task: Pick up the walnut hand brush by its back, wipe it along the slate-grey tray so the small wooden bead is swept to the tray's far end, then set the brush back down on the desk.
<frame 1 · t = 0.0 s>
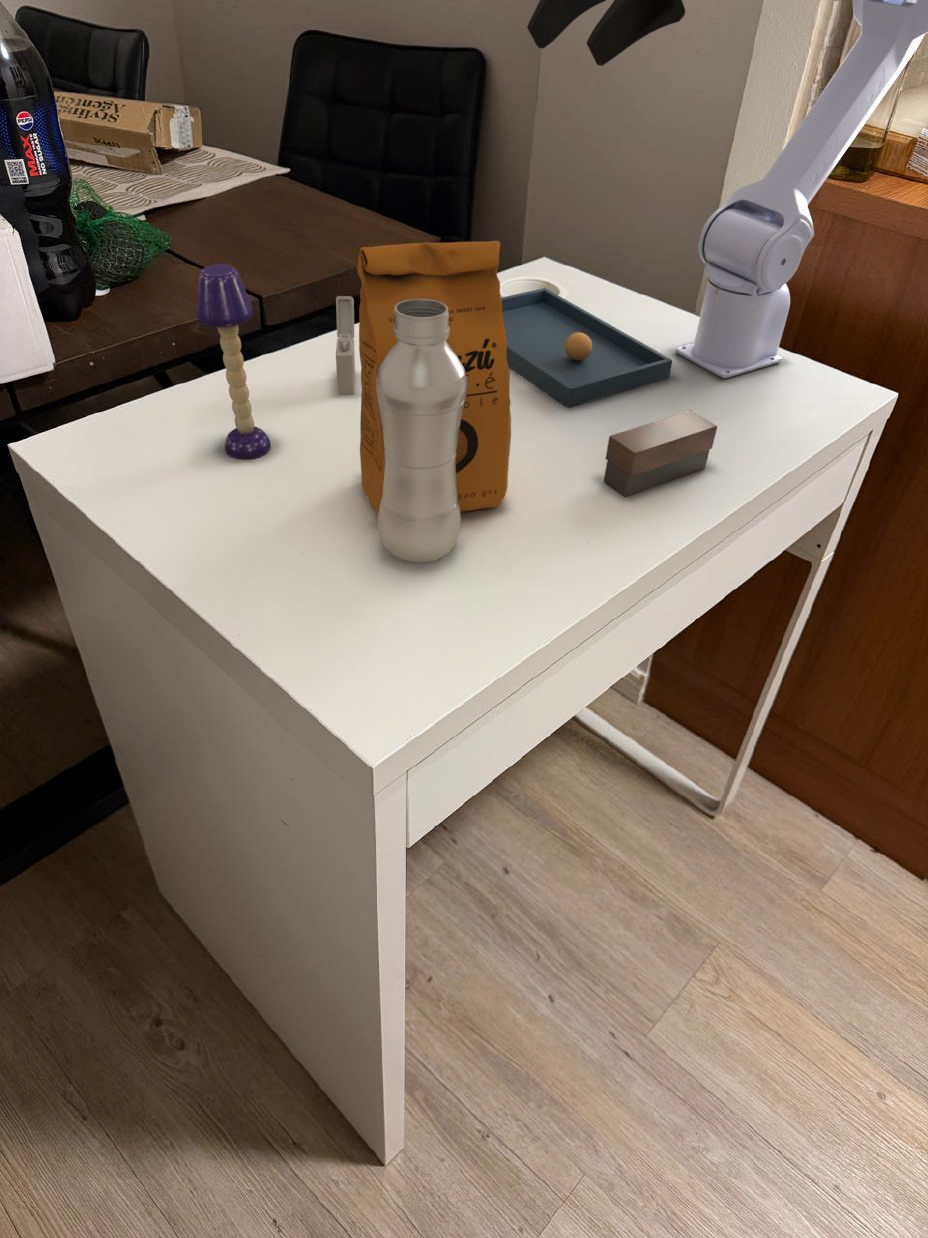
hand: (563, 45, 72), 32 cm above the table, tool tilted 50°, fingers open, 7 cm apart
coffee package: (432, 497, 81), on the table, touching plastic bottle
toy lamp: (244, 449, 87), on the table
brush: (655, 474, 86), on the table
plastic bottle: (419, 551, 75), on the table, touching coffee package
tray: (554, 350, 105), on the table
wooden bead: (578, 346, 101), point 2 cm above the table, touching tray
lighter: (347, 380, 98), on the table
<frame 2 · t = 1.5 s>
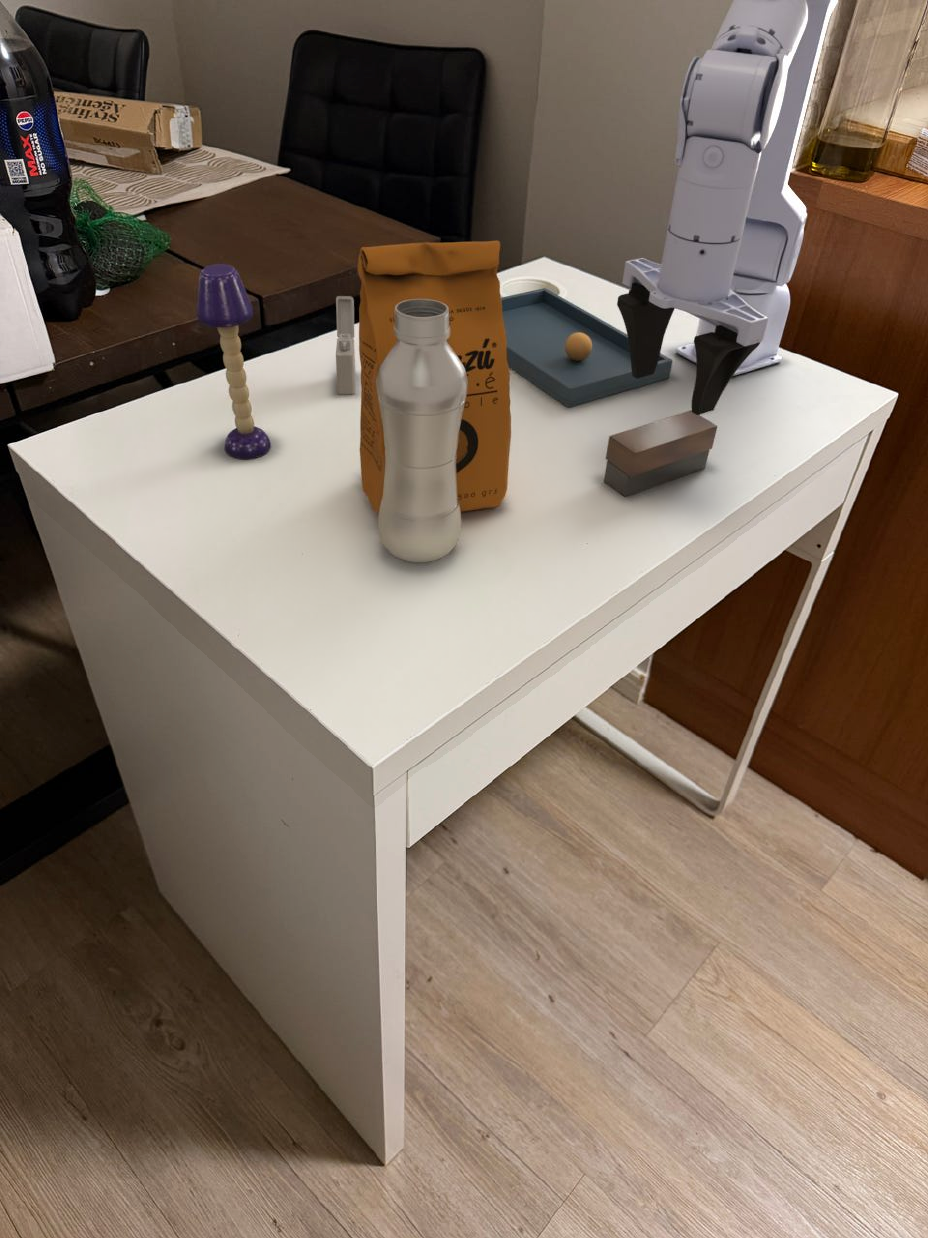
hand: (671, 392, 80), 8 cm above the table, tool pointing down, fingers open, 7 cm apart
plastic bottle: (419, 551, 75), on the table, touching coffee package
everything else where it was.
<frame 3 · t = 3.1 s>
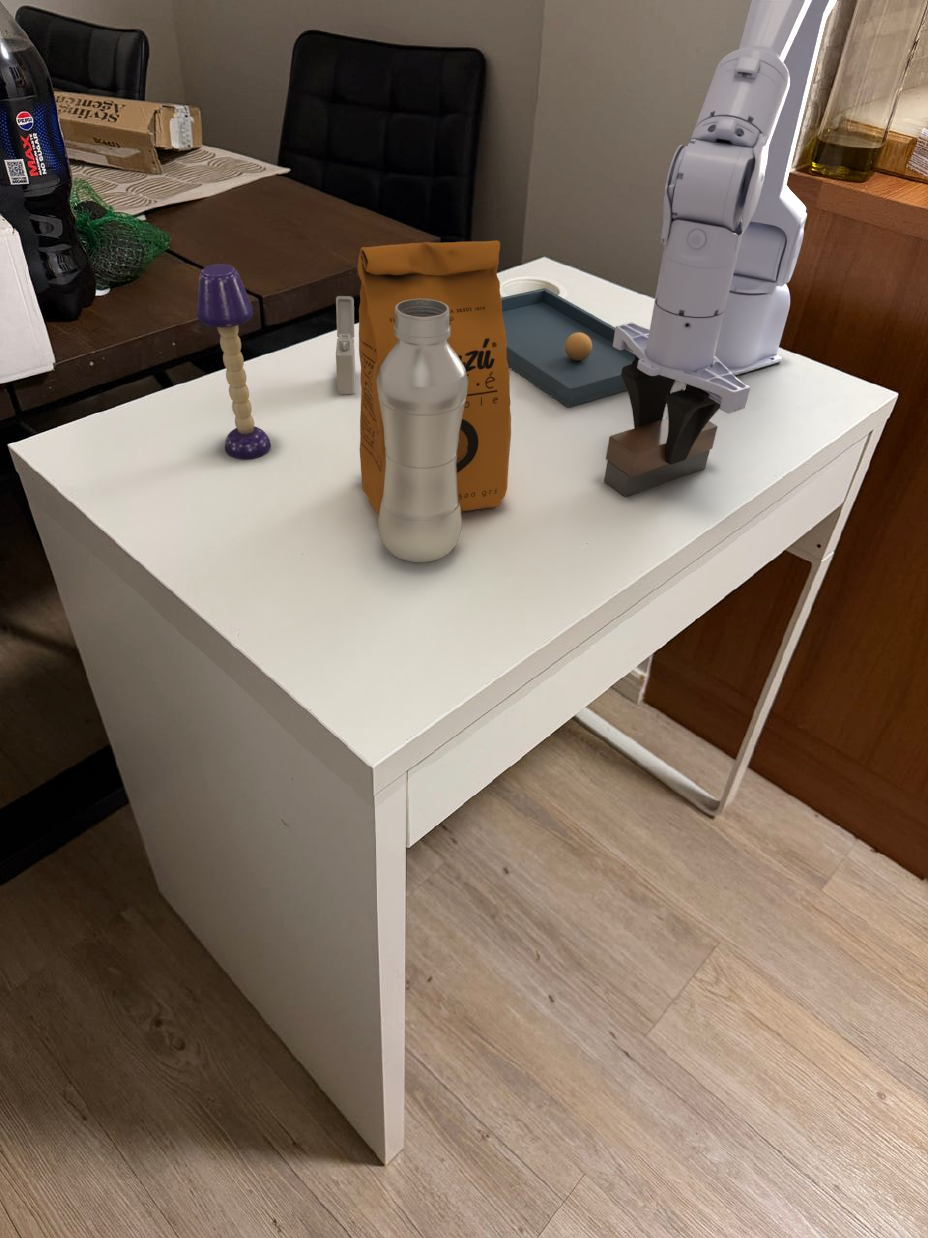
hand: (660, 450, 84), 3 cm above the table, tool pointing down, fingers closed on brush, 3 cm apart
brush: (655, 474, 86), on the table, touching gripper
everything else where it was.
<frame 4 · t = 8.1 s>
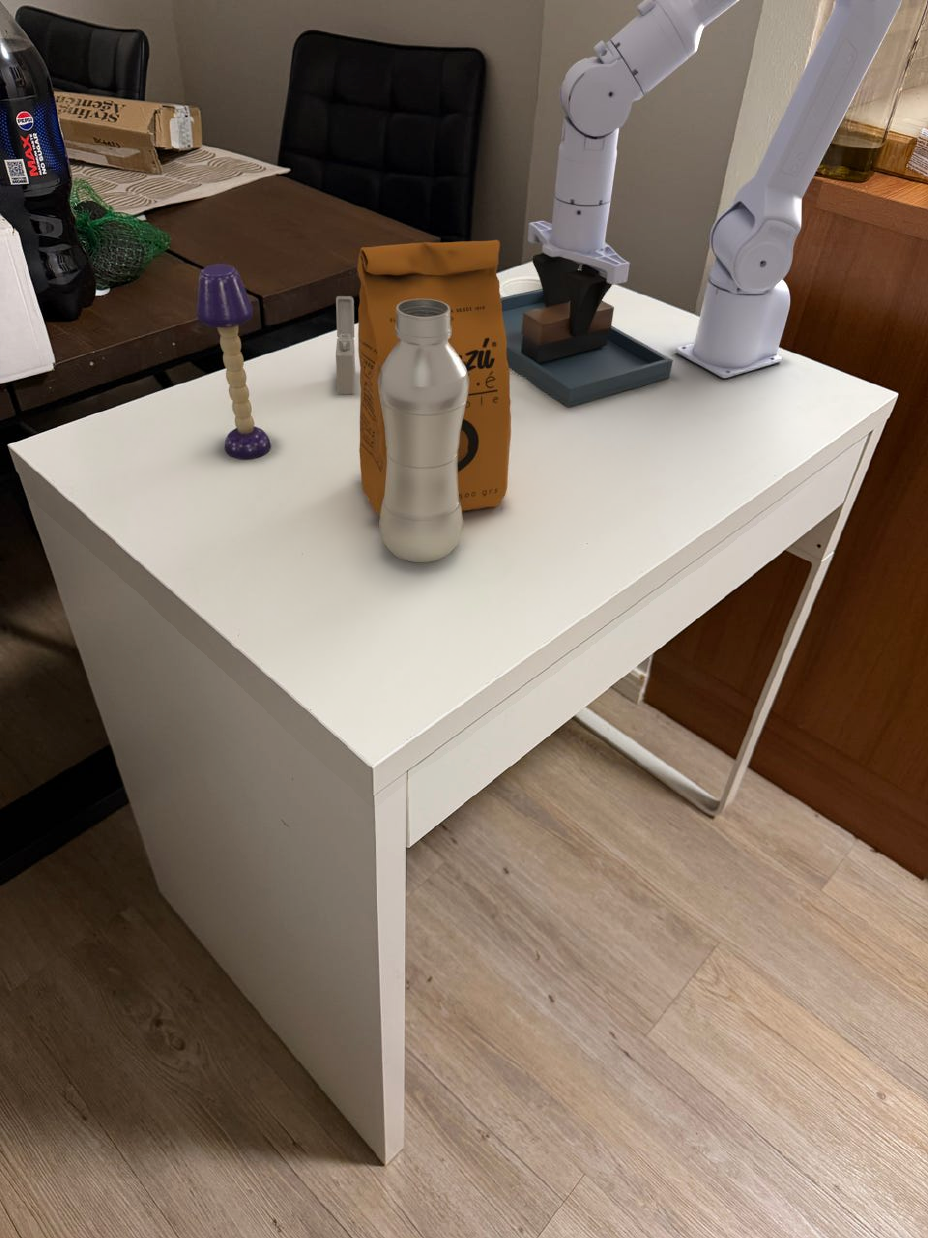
hand: (567, 326, 102), 4 cm above the table, tool pointing down, fingers closed on brush, 3 cm apart
brush: (564, 349, 103), point 1 cm above the table, touching gripper
wooden bead: (537, 322, 106), point 2 cm above the table, tilted 79°, touching tray
everything else where it was.
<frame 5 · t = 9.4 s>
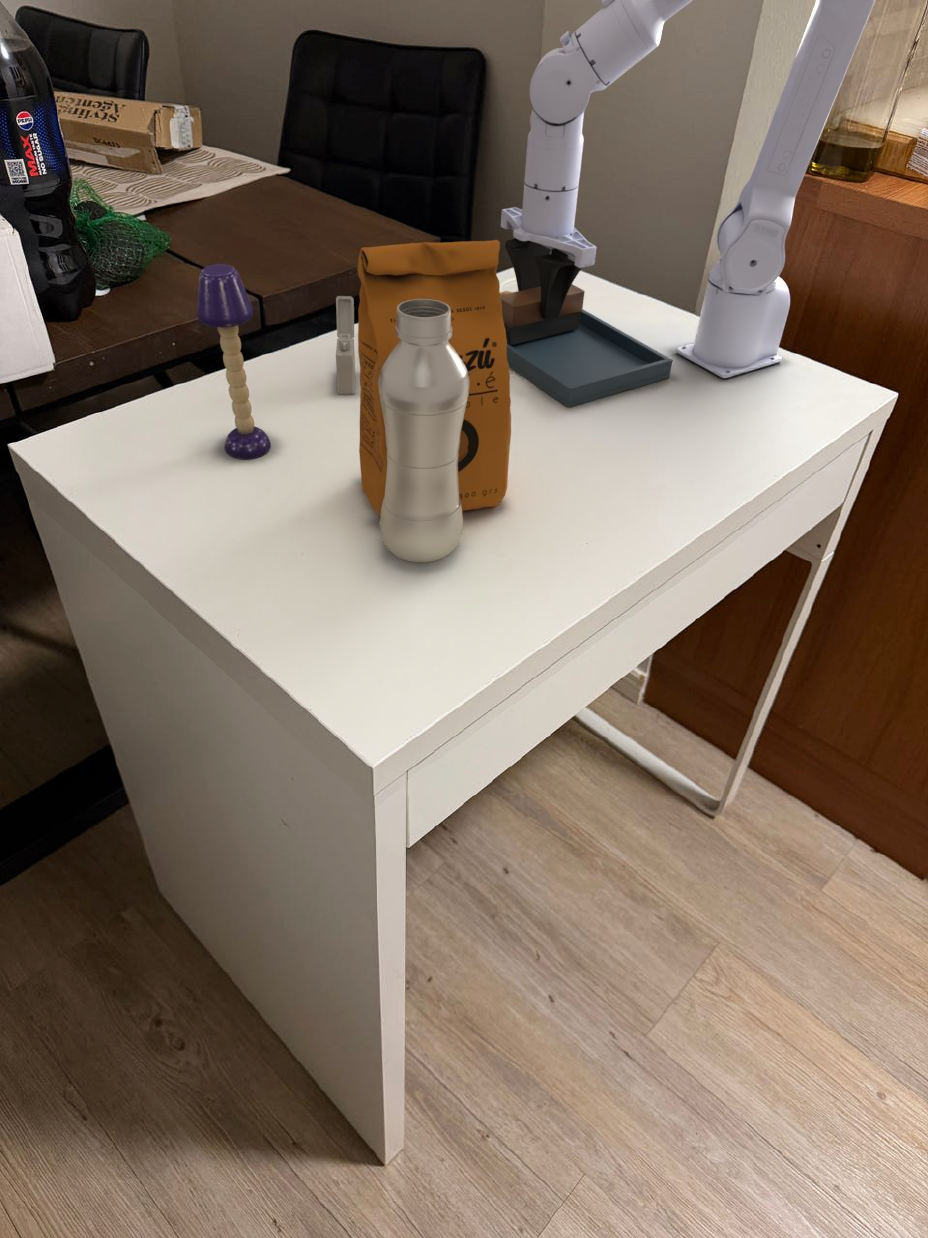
hand: (539, 310, 105), 4 cm above the table, tool pointing down, fingers closed on brush, 3 cm apart
brush: (537, 332, 107), point 1 cm above the table, touching gripper
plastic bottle: (421, 551, 75), on the table, touching coffee package
wooden bead: (506, 304, 110), point 2 cm above the table, tilted 154°, touching tray
everything else where it was.
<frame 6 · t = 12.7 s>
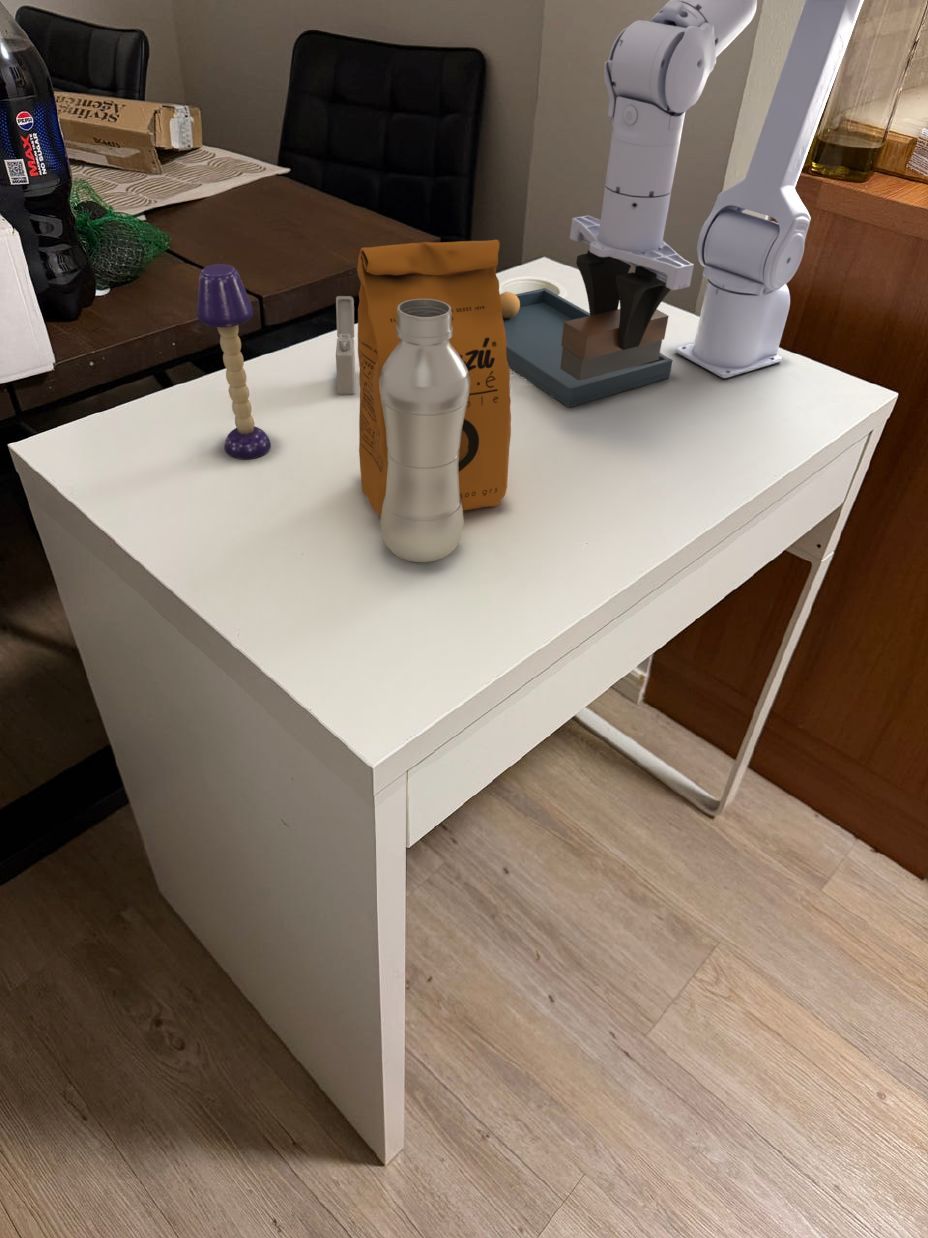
hand: (614, 338, 88), 8 cm above the table, tool pointing down, fingers closed on brush, 3 cm apart
brush: (609, 364, 90), point 6 cm above the table, touching gripper
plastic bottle: (422, 551, 75), on the table, touching coffee package
wooden bead: (507, 305, 109), point 2 cm above the table, tilted 146°, touching tray
everything else where it was.
when the fingers open (3 cm above the table, at t = 15.4 s): brush stays where it is, on the table.
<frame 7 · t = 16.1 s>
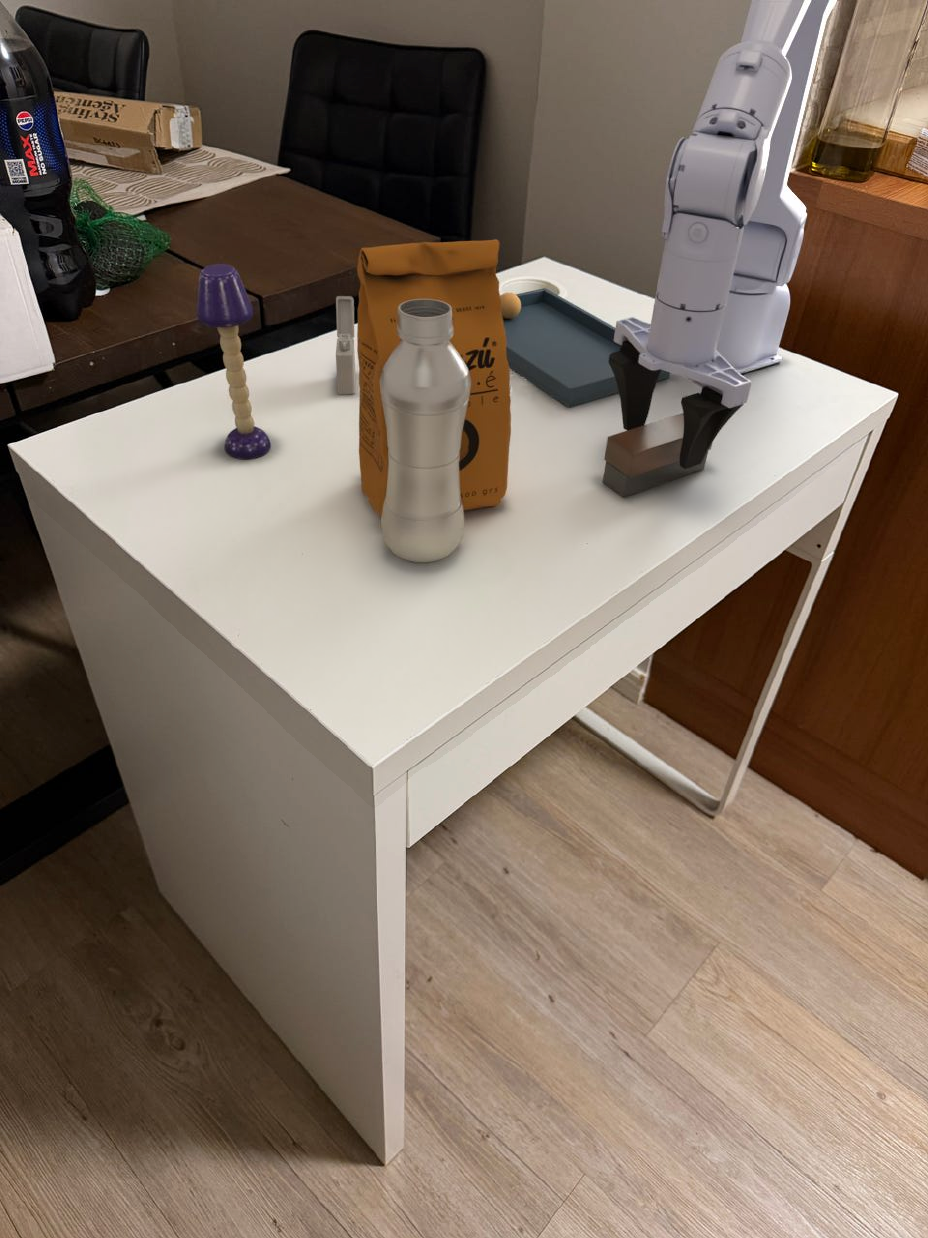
hand: (661, 445, 84), 3 cm above the table, tool pointing down, fingers open, 7 cm apart
brush: (653, 475, 85), on the table
wooden bead: (508, 305, 109), point 2 cm above the table, tilted 137°, touching tray
everything else where it was.
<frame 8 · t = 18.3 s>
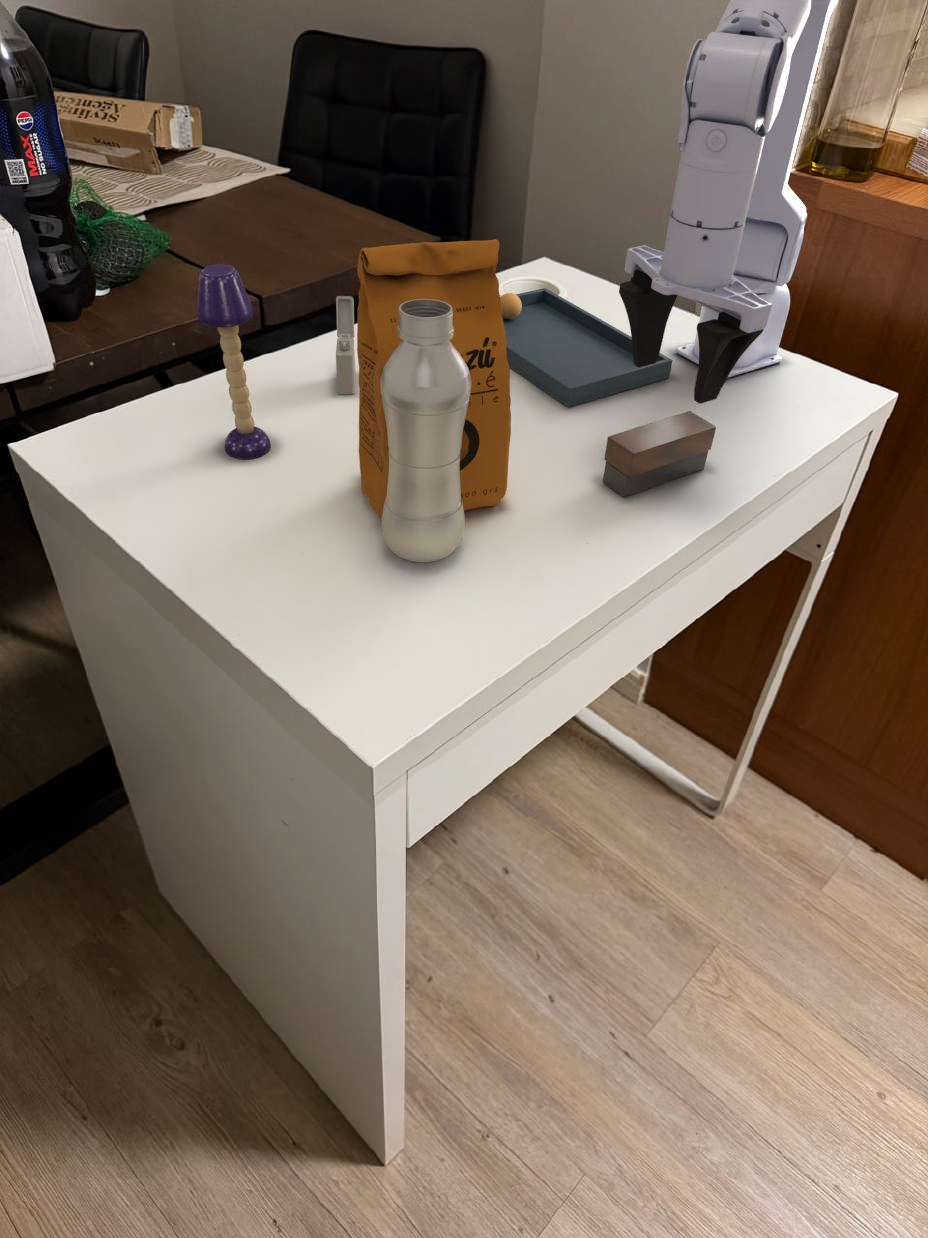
hand: (674, 381, 79), 9 cm above the table, tool pointing down, fingers open, 7 cm apart
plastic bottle: (423, 551, 75), on the table, touching coffee package
wooden bead: (509, 306, 109), point 2 cm above the table, tilted 131°, touching tray
everything else where it was.
at the end: wooden bead inside the target area in the tray (0.5 cm from its centre), point 2.1 cm above the tray's base; brush inside the target area (0.2 cm from its centre), on the table; the gripper is holding nothing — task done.
